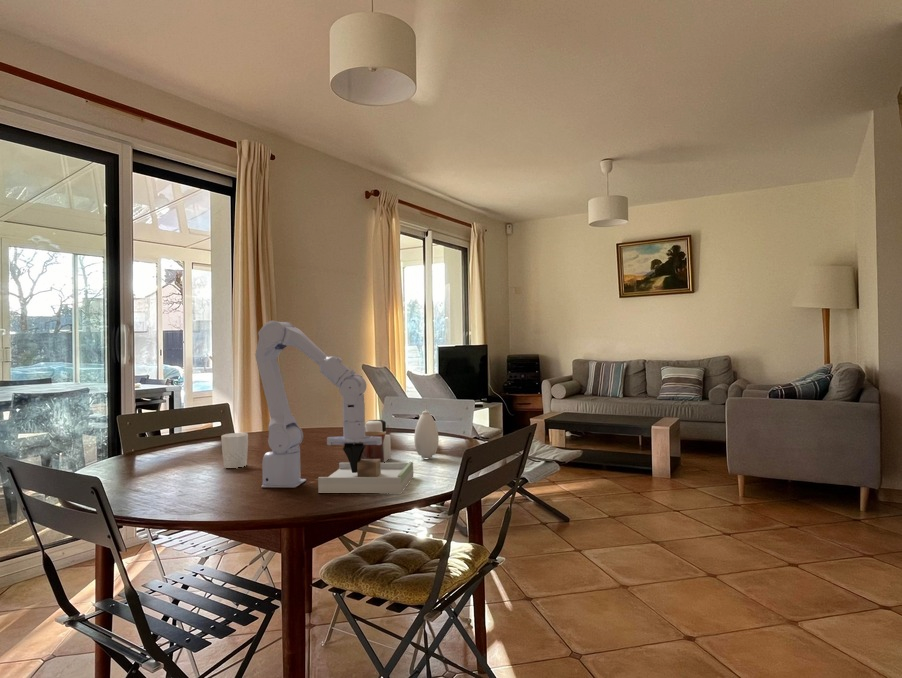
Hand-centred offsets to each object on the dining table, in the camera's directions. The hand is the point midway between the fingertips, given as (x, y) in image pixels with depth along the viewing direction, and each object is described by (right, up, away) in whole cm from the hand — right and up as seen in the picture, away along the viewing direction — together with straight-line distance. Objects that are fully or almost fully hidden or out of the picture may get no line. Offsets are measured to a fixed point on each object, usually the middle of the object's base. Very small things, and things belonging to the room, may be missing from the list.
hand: (355, 471), depth 150 cm
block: (+4, -1, 0) cm, 4 cm away
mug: (+1, -4, +20) cm, 20 cm away
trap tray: (+4, -3, 0) cm, 5 cm away
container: (+2, -4, +31) cm, 31 cm away
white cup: (-42, -5, +27) cm, 50 cm away
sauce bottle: (+18, -4, +32) cm, 37 cm away
